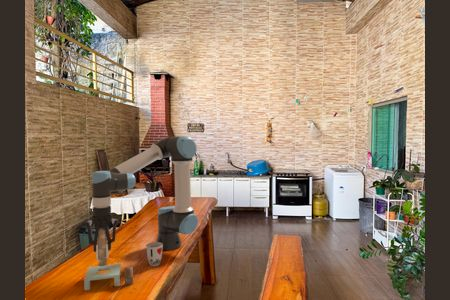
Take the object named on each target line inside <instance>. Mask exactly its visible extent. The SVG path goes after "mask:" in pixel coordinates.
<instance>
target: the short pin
mask: <svg viewBox="0 0 450 300" xmlns="http://www.w3.org/2000/svg"><path fill="white" fill-rule="evenodd" d="M133 284H134V267H133V266H127V267H125V268H124V285H125V286H132V285H133Z"/></svg>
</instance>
